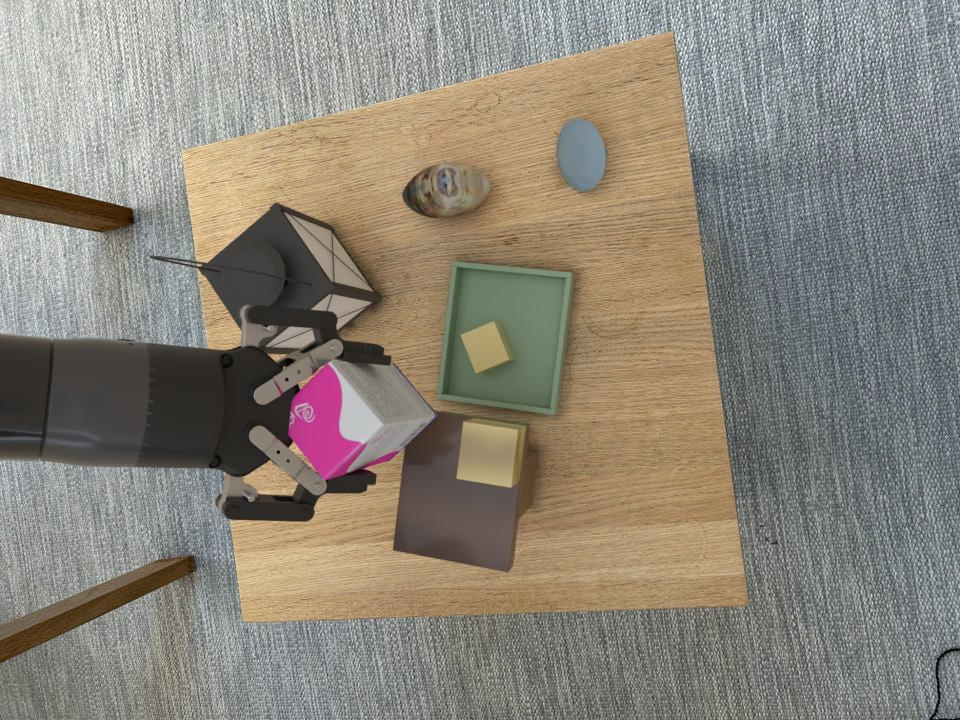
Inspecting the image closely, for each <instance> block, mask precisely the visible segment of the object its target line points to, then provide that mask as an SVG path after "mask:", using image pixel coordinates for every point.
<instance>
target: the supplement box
mask: <svg viewBox="0 0 960 720" xmlns="http://www.w3.org/2000/svg"><path fill="white" fill-rule="evenodd" d="M434 410H435V409H434V408H433V407H432V406H431V405H430V403H428V402H427V400H426V399H425V398H424V397H423V396H422V394H421V393H420V392H419V391H418V389H416V387H415V386H414V385H413V384H412V382H411V381H410V380H409V379H408V378H407V376H406V375H405V374H404V373H403V372H402V370H400V368H399V367H398V366H397V364H396V363H394V362H393V361H391V365H390V366H387V365H377V364H366V363H356V362H346V361H340V360H331V361H329V362H328V363H326V364H325V365H323V366H322V367H321V369H319V371H317V372H316V374H315V375H313V377H312V378H311V379H310V380H308V382H307V383H306V384H305V385H303V387H301V388H300V391H299V392H298V393H297V394H296V395H295V396H294V398H293V400H292V406H291V413H290V423H289V433H288V435H289V437H290V438H291V439H292V440H293V443H294V444H295V446H296V447H297V448H298V449H299V450H300V452H301V453H302V455H303V456H304V458H306V459H307V461H308V463H310V465H311V466H312V467H313V470H314V471H315V472H318V474H319V475H320V476H321V478H322V479H323V480H328V479H331V478H334V477H338V476H341V475H344V474H347V473H350V472H354V471H357V470H360V469H367V468H369V467H374V466H377V465H380V464H383V463H387V462H390V461H391V460H392V459H394V458H395V456H397V455H398V454H399V453H400V452H401V451H402V450H404V449H405V447H406V446H407V445H408V444H409V443H410V442H411V441H412V440H413V439H414V438H415V437H416V436H417V435H419V434H420V433H421V432H422V431H423V430H424V429H425V428H426V427H427V426H428V425H429V424H430V423H431V422H432V421H433V420H434V419H435V418H436V417H437V416H438V415H437V414H436V412H435V411H434Z"/></svg>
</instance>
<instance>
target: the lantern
mask: <svg viewBox="0 0 960 720" xmlns="http://www.w3.org/2000/svg"><path fill="white" fill-rule="evenodd" d="M335 231H336V230H335V229H334V227H333V226H332V224H329V223H327V222H325V221H323V220H320V219H318V218H315V217H312V216H311V215H308V214H305V213H303V212H300V211H298V210H296V209H293V208H291V207H288V206H286V205H284V204H282V203H279V202H274V203H273V204H272V205H271V206H269V210H267V211H266V212H264V214H262V215H261V216H260V217H259V218H258V219H256V220H255V221H254V222H253V223H252V224H251V225H250V226H248V227H247V228H246V229H245V230H244V231H243V232H241V233H240V234H239V235H238V236H237V237H235V238H234V240H232V241H231V242H229V244H227V245H226V246H225V247H224V248H222V249H221V250H220V251H219V252H218V253H217V254H215V255H214V256H213V257H212V258H211V259H210V260H208V261H207V262H203V261H197V260H191V259H186V258H183V259H182V258H178V257H169V256H162V255H149V258H150V259H152V260H156V261H160V262H165V263H170V264H174V265H179V266H185V267H190V268H195V269H198V271H199V273H200V274H201V275H202V276H203V277H205V279H206V280H207V282H208V283H209V285H210V286H211V288H212V289H213V291H214V292H215V293H216V295H217V297H218V298H219V300H220V301H221V303H222V305H223V306H224V307H225V309H226V310H227V312H228V313H229V315H230V316H231V318H232V320H233V321H234V322H235V324H236V325H237V327H238V328H239V330H240V331H241V329H242V321H241V320H240V319H239V317H238V310H239V308H240V307H241V306H243V305H246V304H249V305H261V306H273V307H285V308H297V309H309V310H321V311H331V312H333V313H335V314H336V316H337V318H338V322H337V325H336V327H337V332H338V333H339V332H340V331H342V330H343V329H345V328H346V327H347V326H348V325H349V324H351V323H352V322H353V321H354V320H356V319H357V318H358V317H359V316H361V315H362V314H363V313H364V312H366V311H367V310H368V309H370V308H371V307H372V306H373V305H374V304H378V303H380V302H381V301H382V300H383V296H381V294H380V293H379V292H377V290H375V288H374V286H373V285H372V283H371V282H370V281H369V280H368V278H367V276H365V274H364V273H363V270H361V268H360V267H359V265H358V264H357V262H356V261H355V260H354V258H353V256H352V255H351V253H350V252H349V251H348V250H347V249H346V247H345V246H344V244H343V242H342V241H341V240H340V239H339V236H338V235H337V234H336V233H335ZM194 264H196V265H194ZM199 265H200V266H199ZM314 340H315V338H314V334H313V329H312V328H302V327H288V326H277V332H276V333H275V335H273V336H272V337H266V338H263V339H262V340H261V341H260V342H259V345H258V347H259V348H261V349H262V350H263V351H265V352H266V353H267V354H268V355H288V354H289V353H291V352H294V351H297V350H299V349H301V348H303V347H304V346H306V345H308V344H309V343H311V342H313V341H314Z"/></svg>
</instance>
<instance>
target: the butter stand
mask: <svg viewBox="0 0 960 720" xmlns="http://www.w3.org/2000/svg"><path fill="white" fill-rule="evenodd" d="M433 410H434V411H435V412H436V414H437V415H438V416H437V417H436V418H435V419H434V420H433V421H432V422H431V423H430V424H429V425H428V426H427V427H426V428H425V429H424V430H423V431H422V432H421V433H420V434H419V435H417V436H416V437H415V438H414V439H413V440H412V441H411V442H410V443H409V444H408V445H407V446H406V447H404V448H403V450H404V451H403V460H402V468H401V477H400V485H399V493H398V501H397V510H396V519H395V526H394V527H395V528H394V535H393V545H392V551H394V552H400V553H403V554H409V555H415V556H421V557H424V558H431V559H436V560H441V561H446V562H452V563H457V564H462V565H467V566H472V567H477V568H483V569H488V570H494V571H498V572H504V573H509V572H510V571H511V570H512V568H513V567H514V563H515V555H516V546H517V537H518V531H519V530H518V529H519V521H520V519H521V518H522V517H523V516H524V515H525V513H526V512H527V511H528V510H529V509H530V508H531V507H532V505H533V504H534V497H535V489H536V488H535V487H536V480H537V472H538V465H539V464H538V462H539V454H540V451H539V450H535V449H529V441H530V440H529V439H530V432H531V423H527V422H521V421H514V420H507V419H502V418H501V419H500V418H493V417H486V416H480V415H479V416H478V415H474V414H473V415H472V414H465V413H459V412H451V411H444V410H439V409H433Z"/></svg>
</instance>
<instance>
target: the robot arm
mask: <svg viewBox="0 0 960 720" xmlns="http://www.w3.org/2000/svg"><path fill="white" fill-rule="evenodd" d="M238 317H239V319H240V320H241V321H242V329H241V330H240V344H239V345H238V346H236V347H233V348H230V349H215V348H207V347H206V348H205V347H194V346H183V345H175V344H163V343H153V342H143V341H135V340H133V339H128V338H117V339H111V338H102V337H101V338H100V337H99V338H98V337H97V338H96V337H80V338H79V337H78V338H58V337H53V338H51V337H48V336H47V337H46V336H35V335H25V334H24V335H23V334H15V333H4V332H0V461H11V462H12V461H15V462H17V461H18V462H19V461H20V462H21V461H22V462H38V461H40V462H43V463H45V462H46V463H55V464H56V463H57V464H63V465H70V466H77V467H90V468H91V467H92V468H139V469H141V468H143V469H144V468H145V469H147V468H149V469H150V468H151V469H152V468H153V469H201V470H202V469H208V470H209V469H211V470H217V471H220V472H223V473H225V474H224V480H223V487H222V493H220V494H219V495H217V497H216V499H215V504H214V505H215V507H216V508H217V509H218V510H219V511H220V512H221V513H222V514H223V515H224V517H225V518H226V519H228V520H230V521H253V522H254V521H257V522H258V521H259V522H260V521H261V522H291V523H293V522H294V523H295V522H298V523H307V522H310V521H311V520H312V519H313V518H314V516H315V513H316V512H315V511H316V510H315V507H316V506H317V503H318V501H319V499H320V498H321V497H322V496H324V495H327V494H328V495H330V494H332V495H334V494H338V495H340V494H349V495H351V494H354V495H355V494H356V495H357V494H363V493H366V492H367V491H368V487H369V486H375V485H376V484H377V477H378V474H377V473H375V472H373V471H372V470H370V469H367V468H364V469H360V470H357V471H354V472H350V473H347V474H344V475H341V476H338V477H334V478H331V479H328V480H323V479H322V478H321V476H320V475H319V474H318V472H317V471H316V470H315V469H314V468H312V467H311V466H309V465H308V464H307V462H306V461H304V460H303V459H302V458H301V457H300V456H298V455H297V454H296V453H295V452H294V451H293V450H291V449H290V448H291V446H292V445H293V443H294V441H293V440H292V439H291V438H290V437H289V435H288V433H289V423H290V413H291V406H292V400H293V398H294V396H295V395H296V394H297V393H298V392H299V391H300V390H301V387H300V383H301V382H303V381H304V380H306V379H308V378H310V377H311V376H313V375H314V374H315V373H318V370H320V368H323V367H324V366H325V365H326V364H327V363H328V362H329V361H346V362H356V363H366V364H377V365H387V366H390V365H391V362H392V355H387V354H385V347H384V346H382V345H380V344H378V343H373V342H372V343H371V342H363V341H354V340H346V339H343V338H342V337H341V336H340V335H339V332H337V327H336V325H337V322H338V318H337V316H336V314H335V313H333V312H331V311H321V310H309V309H297V308H285V307H273V306H261V305H249V304H246V305H243V306H241V307H240V308H239V310H238ZM277 326H288V327H302V328H312V329H313V334H314V338H315V340H314V341H313V342H311V343H309V344H308V345H306V346H304V347H303V348H301V349H299V350H297V351H294V352H291V353H289V354H285V356H283V357H281V358H280V359H278V360H275V359H274V358H272V357H271V355H270V354H267V353H266V352H265V351H263V350H262V349H261V348H259V347H258V345H259V342H260V341H261V340H262V339H263V338H266V337H272V336H273V335H275V333H276V332H277ZM268 462H271V463H272V464H274V465H275V466H276V467H277V468H278V469H280V470H281V471H282V472H283V473H285V474H286V475H287V476H288V477H290V478H291V479H292V480H294V481H295V482H296V483H297V485H296V487H295V490H294V492H293V494H289V495H287V494H268V493H267V494H265V493H258V490H257V489H256V488H255V487H254V486H253V485H251V484H249V483H245V481H244V477H246V476H248V475H250V474H252V473H253V472H254V471H256V470H258V469H259V468H260V467H263V466H264V465H266V464H267V463H268Z"/></svg>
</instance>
